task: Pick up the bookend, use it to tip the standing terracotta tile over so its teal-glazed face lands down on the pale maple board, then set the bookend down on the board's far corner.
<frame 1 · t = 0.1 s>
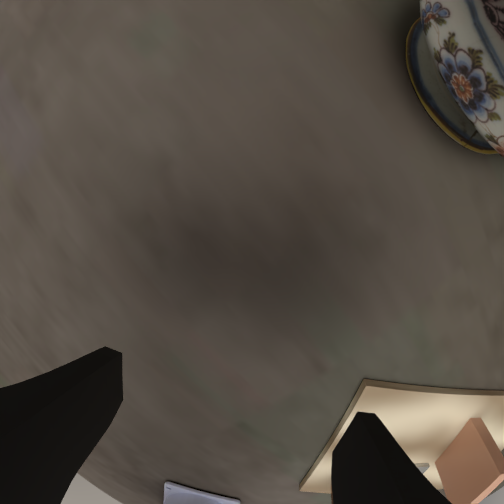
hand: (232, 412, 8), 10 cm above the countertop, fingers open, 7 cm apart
apothecary jar: (470, 77, 13), on the countertop
tile: (457, 441, 19), point 1 cm above the countertop, touching board
board: (434, 447, 20), on the countertop
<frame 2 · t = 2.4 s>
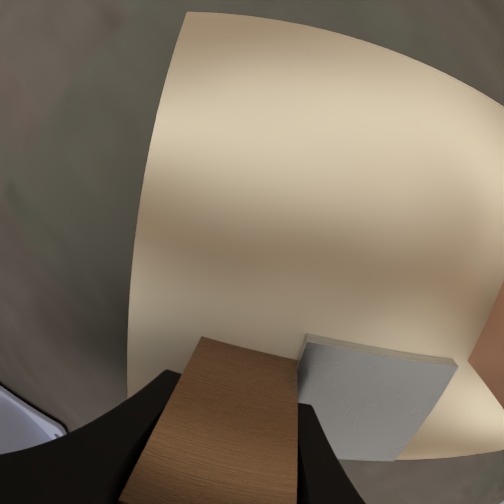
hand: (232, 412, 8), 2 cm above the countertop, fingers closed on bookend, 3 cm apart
board: (461, 311, 9), on the countertop
bookend: (239, 384, 10), point 1 cm above the countertop, touching board, gripper
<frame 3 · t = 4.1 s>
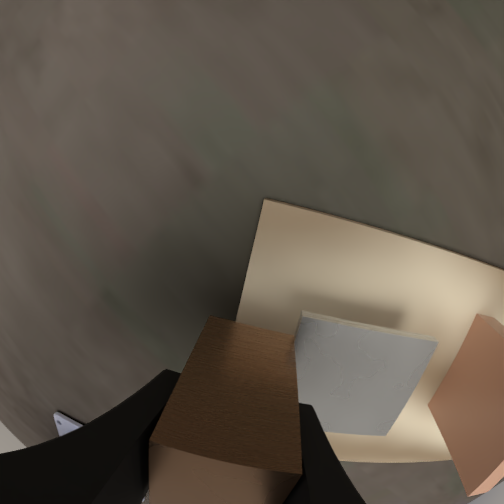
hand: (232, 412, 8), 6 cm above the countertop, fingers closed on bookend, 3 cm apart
tile: (461, 364, 13), point 1 cm above the countertop, touching board
board: (425, 376, 14), on the countertop
bookend: (242, 360, 11), point 4 cm above the countertop, touching gripper
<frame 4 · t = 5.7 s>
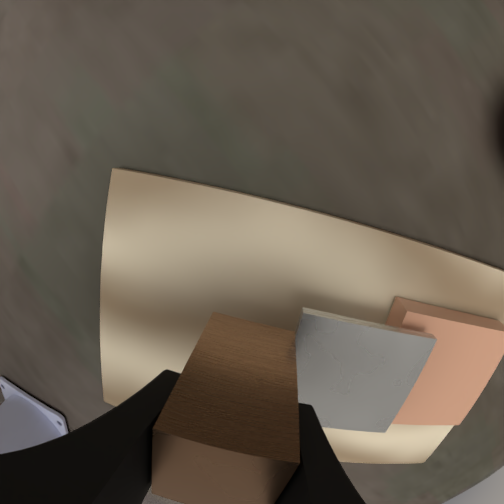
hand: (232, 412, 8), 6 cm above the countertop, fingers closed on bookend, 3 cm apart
tile: (375, 363, 12), point 2 cm above the countertop, tilted 90°, touching board
board: (312, 359, 15), on the countertop
bookend: (245, 355, 11), point 3 cm above the countertop, touching gripper
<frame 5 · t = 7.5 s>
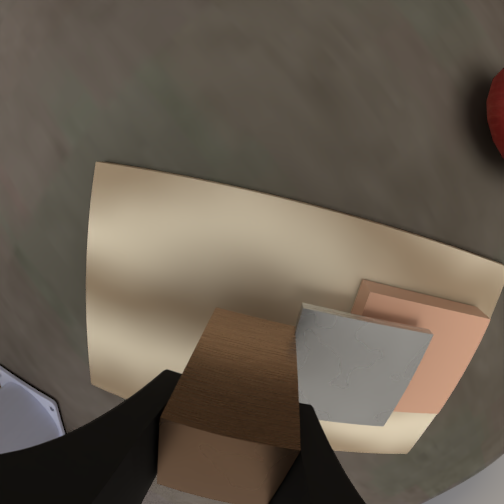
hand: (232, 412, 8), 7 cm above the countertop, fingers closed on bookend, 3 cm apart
onion: (497, 127, 11), on the countertop
tile: (343, 345, 13), point 2 cm above the countertop, tilted 90°, touching board
board: (284, 341, 15), on the countertop
bookend: (246, 350, 12), point 4 cm above the countertop, touching gripper
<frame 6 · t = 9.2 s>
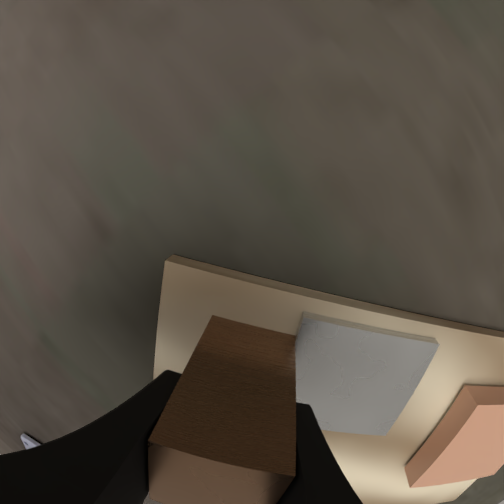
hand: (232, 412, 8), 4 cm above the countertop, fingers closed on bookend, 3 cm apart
tile: (437, 442, 10), point 2 cm above the countertop, tilted 90°, touching board
board: (375, 437, 13), on the countertop
bookend: (244, 359, 11), point 1 cm above the countertop, touching board, gripper
when the fingers open (4 cm above the countertop, at t = 9.3 s): bookend stays where it is, resting on board.
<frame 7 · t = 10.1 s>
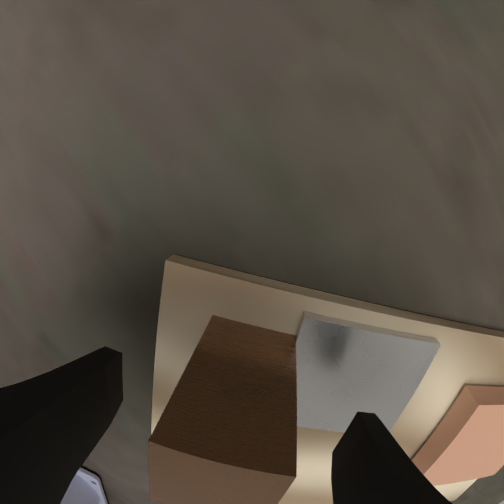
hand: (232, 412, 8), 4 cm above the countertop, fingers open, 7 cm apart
tile: (438, 442, 10), point 2 cm above the countertop, tilted 90°, touching board
board: (376, 437, 13), on the countertop
bookend: (245, 359, 11), point 1 cm above the countertop, touching board
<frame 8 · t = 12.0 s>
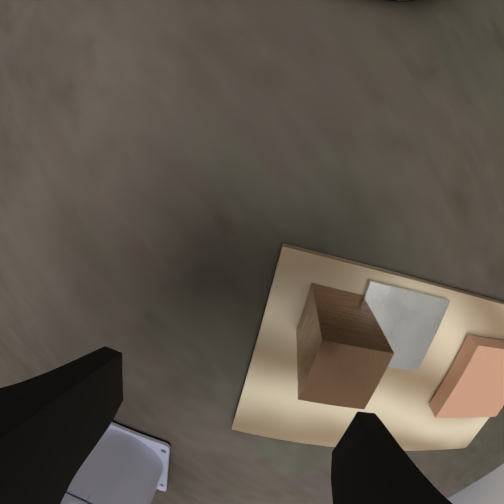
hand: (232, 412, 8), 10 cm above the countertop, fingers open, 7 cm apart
tile: (452, 378, 16), point 2 cm above the countertop, tilted 90°, touching board
board: (407, 378, 18), on the countertop
bookend: (329, 313, 17), point 1 cm above the countertop, touching board
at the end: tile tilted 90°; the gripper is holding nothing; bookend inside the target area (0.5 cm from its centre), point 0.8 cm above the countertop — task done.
